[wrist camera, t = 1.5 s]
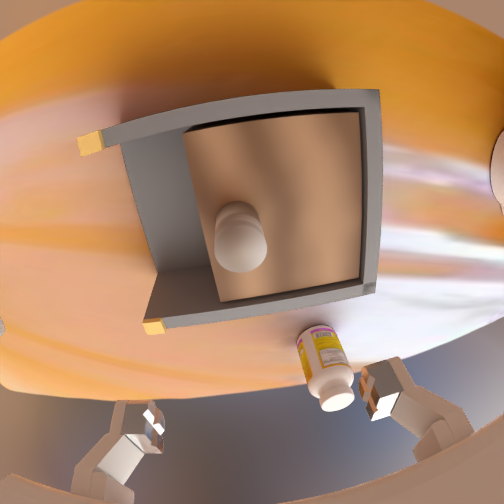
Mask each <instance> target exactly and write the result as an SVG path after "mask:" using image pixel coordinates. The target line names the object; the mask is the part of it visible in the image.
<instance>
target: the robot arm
mask: <svg viewBox="0 0 504 504" xmlns="http://www.w3.org/2000/svg"><path fill="white" fill-rule="evenodd" d="M491 185H492V190H493V193H494V195H495V197H496V199H497V200H498V202H499V203H500V205H501V208H502V213H503V215H504V131H503V132H502V133H501V134H500V136H499V138H498V140H497V142H496V145H495V148H494V151H493V156H492V161H491ZM361 374H362V377H361V378H360V379H359V391H360V395H361V398H362V400H364V401H365V402H367V406H366V410H367V413H368V415H369V418H370V420H371V421H373V420H377V419H380V418H383V417H386V416H389V415H390V417H392V418H393V419H394V420H396V421H397V422H398V423H400V424H401V425H402V426H404V427H405V428H406V429H408V430H409V431H410V432H412V433H413V434H415V435H416V436H417V437H418V438H420V439H421V440H420V441H419V442H418V444H417V445H416V446H415V447H414V449H413V453H414V456H415V458H416V460H417V463H416V464H414V465H411V466H409V467H406V468H404V469H401V470H399V471H397V472H394V473H391V474H389V475H386V476H384V477H381V478H378V479H375V480H372V481H370V482H367V483H363V484H361V485H357V486H354V487H351V488H348V489H344V490H340V491H337V492H333V493H329V494H325V495H320V496H316V497H312V498H307V499H302V500H297V501H292V502H285V503H280V504H504V413H503V414H501V415H500V416H498V417H497V418H495V419H494V420H493V421H491V422H490V423H488V424H487V425H485V426H484V427H482V428H480V429H479V430H477V431H476V432H474V430H473V428H472V426H471V424H470V422H469V421H468V419H467V417H466V415H465V413H464V412H463V410H462V408H460V407H458V406H456V405H454V404H452V403H451V402H449V401H447V400H445V399H443V398H442V397H440V396H438V395H436V394H434V393H432V392H430V391H429V390H427V389H425V388H423V387H421V386H419V385H418V386H416V385H415V384H414V382H413V380H412V378H411V377H410V375H409V373H408V371H407V369H406V368H405V366H404V364H403V363H402V361H401V359H400V358H399V357H398V356H396V357H393V358H390V359H387V360H383V361H380V362H377V363H374V364H370V365H367V366H364V367H363V368H362V370H361ZM164 430H165V422H164V417H163V414H162V412H161V411H160V410H159V409H157V408H156V404H155V403H154V401H153V400H117V402H116V404H115V407H114V412H113V417H112V421H111V426H110V431H109V433H107V434H105V435H104V436H103V437H102V438H101V440H100V441H99V442H98V443H97V444H96V445H95V446H94V447H93V448H92V449H91V450H90V451H89V452H88V454H87V455H86V456H85V457H84V458H83V459H82V460H81V461H80V462H79V463H78V464H77V465H76V466H75V470H74V475H73V481H72V486H71V492H70V493H69V492H66V491H62V490H59V489H55V488H52V487H48V486H46V485H43V484H40V483H37V482H34V481H31V480H29V479H26V478H23V477H21V476H18V475H16V474H9V475H8V476H6V477H4V478H3V479H2V480H1V481H0V504H134V492H133V491H132V490H131V489H129V488H127V487H126V486H124V483H125V482H126V480H127V479H128V477H129V476H130V474H131V473H132V471H133V470H134V469H135V467H136V466H137V464H138V463H139V461H140V460H141V458H142V457H143V455H144V453H163V443H164V439H163V438H162V436H161V434H162V433H163V431H164Z"/></svg>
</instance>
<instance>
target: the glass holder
mask: <svg viewBox="0 0 504 504" xmlns="http://www.w3.org/2000/svg"><path fill="white" fill-rule="evenodd" d="M4 333H5V326H4V323H3V321H2V319H1V318H0V336H1V335H3V334H4Z"/></svg>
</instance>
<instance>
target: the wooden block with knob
mask: <svg viewBox="0 0 504 504" xmlns="http://www.w3.org/2000/svg"><path fill="white" fill-rule="evenodd" d="M182 135H183V140H184V145H185V150H186V155H187V160H188V165H189V170H190V175H191V179H192V184H193V189H194V193H195V198H196V202H197V207H198V211H199V216H200V220H201V224H202V229H203V233H204V237H205V241H206V246H207V250H208V254H209V258H210V262H211V266H212V270H213V274H214V278H215V282H216V286H217V290H218V294H219V298H220V302H224V301H231V300H237V299H243V298H250V297H256V296H262V295H268V294H274V293H279V292H285V291H291V290H296V289H302V288H307V287H313V286H318V285H323V284H329V283H334V282H339V281H344V280H349V279H354V278H359V267H360V249H361V221H362V170H361V142H360V125H359V113H358V112H352V111H345V110H337V109H329V108H324V109H308V110H296V111H285V112H276V113H267V114H259V115H251V116H244V117H238V118H231V119H225V120H219V121H214V122H208V123H203V124H198V125H193V126H192V127H190V128H189V129H188V130H186V131H185V132H184V133H182Z"/></svg>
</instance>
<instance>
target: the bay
mask: <svg viewBox="0 0 504 504" xmlns="http://www.w3.org/2000/svg"><path fill="white" fill-rule="evenodd" d="M324 108H329V109H337V110H345V111H352V112H358V113H359V125H360V142H361V170H362V221H361V249H360V267H359V278H354V279H349V280H344V281H339V282H334V283H329V284H323V285H318V286H313V287H307V288H302V289H296V290H291V291H285V292H279V293H274V294H268V295H262V296H256V297H250V298H243V299H237V300H231V301H224V302H220V298H219V294H218V290H217V286H216V282H215V278H214V274H213V270H212V266H211V262H210V258H209V254H208V250H207V246H206V241H205V237H204V233H203V229H202V224H201V220H200V216H199V211H198V207H197V202H196V198H195V193H194V189H193V184H192V179H191V175H190V170H189V165H188V160H187V155H186V150H185V145H184V140H183V135H182V133H184V132H185V131H186V130H188V129H189V128H190V127H192V126H193V125H198V124H203V123H208V122H214V121H219V120H225V119H231V118H238V117H244V116H251V115H259V114H267V113H276V112H285V111H296V110H308V109H324ZM77 142H78V146H79V150H80V154H81V157H83V156H86V155H89V154H92V153H95V152H98V151H101V150H103V149H105V148H107V147H110V146H113V145H116V144H120V145H121V149H122V154H123V158H124V162H125V166H126V170H127V174H128V177H129V181H130V185H131V189H132V192H133V196H134V199H135V203H136V206H137V210H138V213H139V217H140V220H141V223H142V226H143V230H144V233H145V236H146V239H147V242H148V245H149V248H150V251H151V254H152V257H153V260H154V263H155V266H156V269H157V272H158V275H157V278H156V281H155V284H154V287H153V290H152V293H151V297H150V300H149V303H148V307H147V310H146V313H145V317H144V320H143V323H142V324H143V326H144V328H145V330H146V332H147V334H148V335H150V334H160V333H165V332H166V329H167V328H176V327H184V326H192V325H200V324H207V323H215V322H222V321H229V320H235V319H242V318H248V317H254V316H261V315H267V314H272V313H278V312H284V311H289V310H295V309H300V308H306V307H311V306H316V305H321V304H326V303H331V302H336V301H341V300H345V299H350V298H355V297H359V296H364V295H368V294H372V293H375V288H376V279H377V270H378V260H379V249H380V236H381V220H382V194H383V146H382V122H381V106H380V94H379V89H323V90H303V91H290V92H278V93H268V94H260V95H252V96H244V97H237V98H231V99H224V100H219V101H213V102H207V103H202V104H197V105H192V106H187V107H183V108H178V109H174V110H170V111H166V112H162V113H158V114H154V115H150V116H146V117H142V118H139V119H135V120H132V121H128V122H125V123H122V124H119V125H115V126H112V127H109V128H106V129H103V130H98V131H95V132H92V133H89V134H87V135H84V136H81V137H79V138H77Z"/></svg>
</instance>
